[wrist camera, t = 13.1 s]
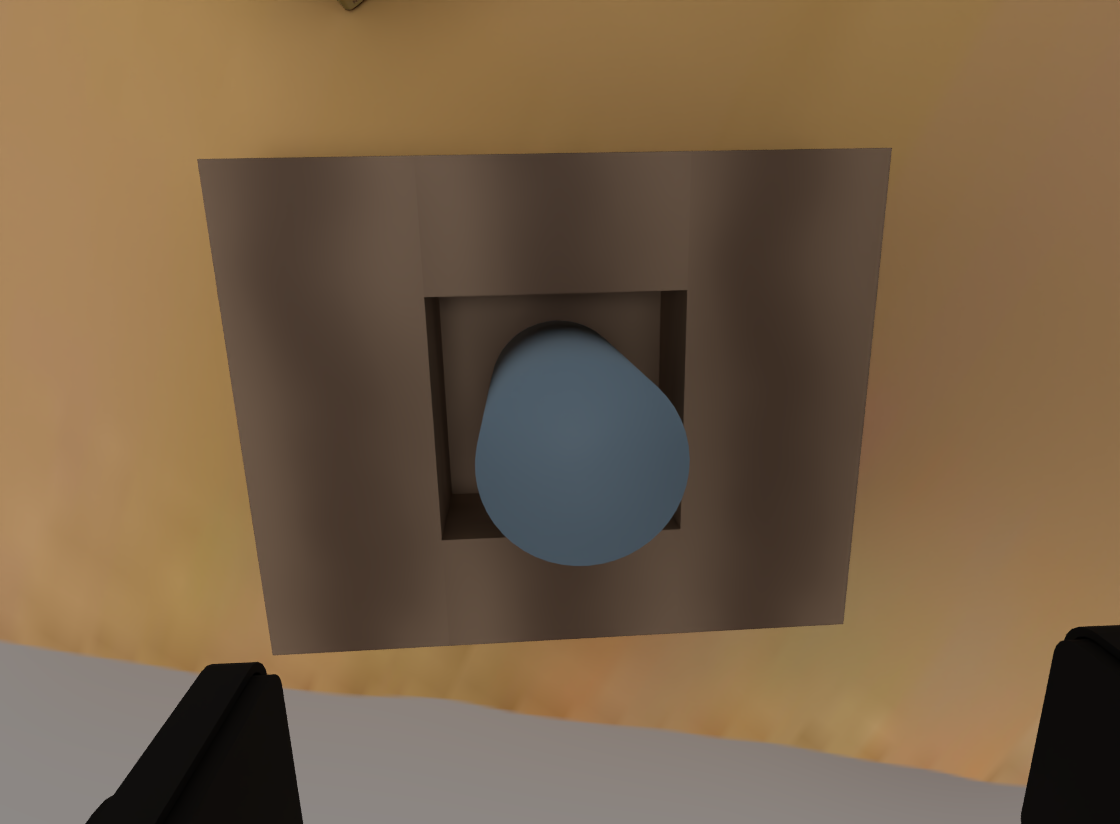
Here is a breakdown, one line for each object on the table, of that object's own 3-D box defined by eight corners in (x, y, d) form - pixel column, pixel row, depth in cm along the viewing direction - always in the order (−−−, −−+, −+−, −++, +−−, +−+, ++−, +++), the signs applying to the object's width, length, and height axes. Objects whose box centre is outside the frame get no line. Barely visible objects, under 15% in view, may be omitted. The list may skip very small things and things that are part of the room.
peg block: (820, 160, 25) (891, 147, 21) (790, 558, 30) (843, 624, 25) (259, 170, 24) (197, 159, 20) (313, 581, 29) (272, 655, 24)
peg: (631, 325, 26) (701, 366, 16) (618, 456, 27) (677, 571, 17) (494, 315, 25) (480, 351, 15) (487, 448, 26) (469, 561, 17)
